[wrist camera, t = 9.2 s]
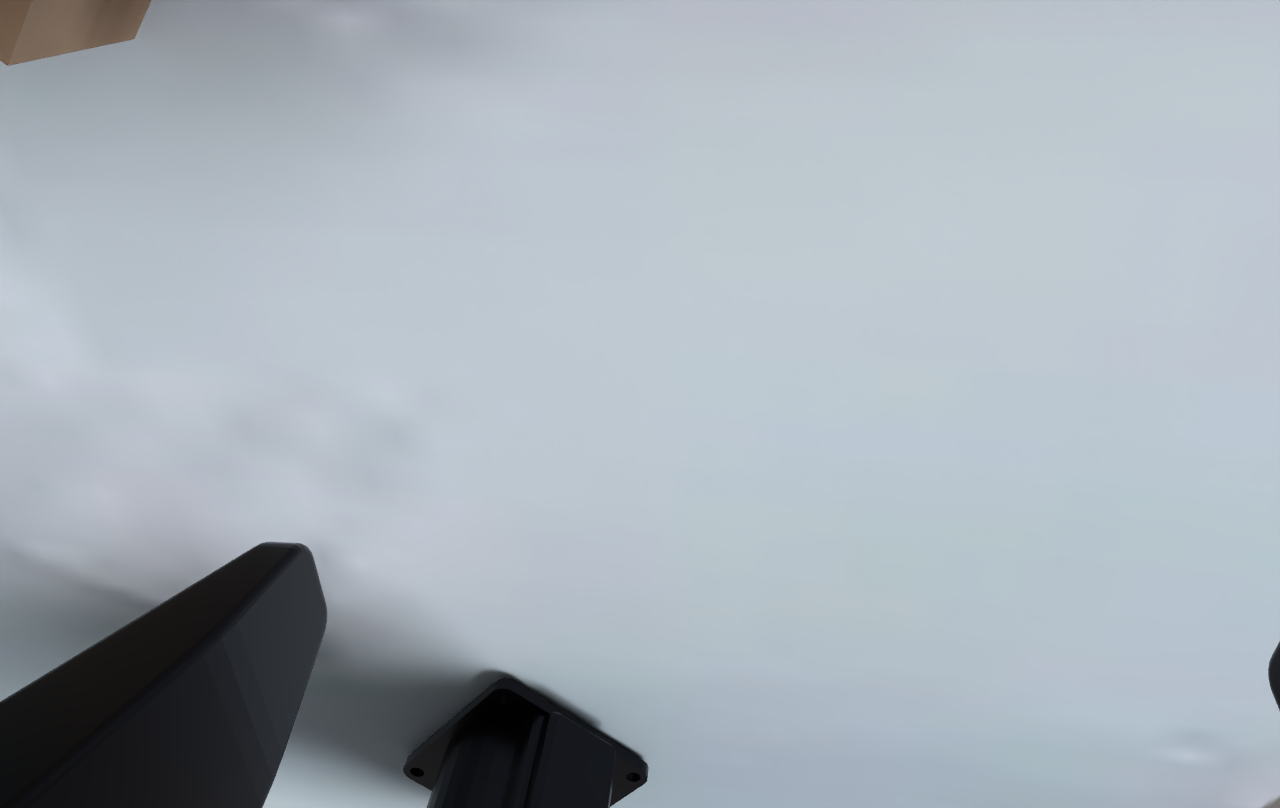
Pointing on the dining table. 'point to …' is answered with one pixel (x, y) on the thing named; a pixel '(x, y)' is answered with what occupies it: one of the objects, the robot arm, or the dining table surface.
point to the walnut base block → (64, 26)
